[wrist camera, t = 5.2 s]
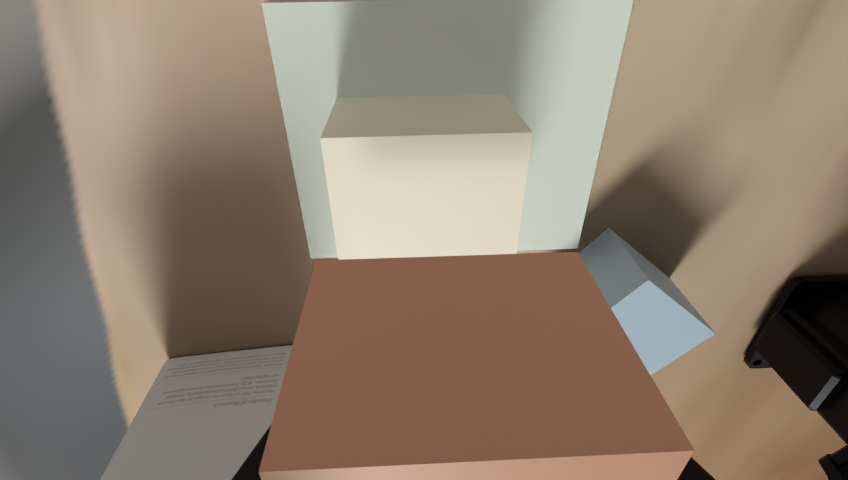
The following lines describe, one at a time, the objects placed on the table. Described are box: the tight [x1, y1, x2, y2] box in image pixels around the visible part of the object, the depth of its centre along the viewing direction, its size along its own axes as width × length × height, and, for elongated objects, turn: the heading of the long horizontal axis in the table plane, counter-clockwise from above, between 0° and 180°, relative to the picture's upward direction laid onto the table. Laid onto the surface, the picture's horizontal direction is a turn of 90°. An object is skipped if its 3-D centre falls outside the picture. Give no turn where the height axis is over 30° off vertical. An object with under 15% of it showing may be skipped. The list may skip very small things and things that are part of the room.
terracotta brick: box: [259, 252, 694, 480], centre depth 8 cm, size 5×5×4 cm
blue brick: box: [579, 228, 715, 375], centre depth 21 cm, size 5×5×4 cm
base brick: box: [320, 93, 533, 260], centre depth 16 cm, size 6×6×4 cm
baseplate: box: [262, 0, 634, 259], centre depth 17 cm, size 12×10×1 cm
